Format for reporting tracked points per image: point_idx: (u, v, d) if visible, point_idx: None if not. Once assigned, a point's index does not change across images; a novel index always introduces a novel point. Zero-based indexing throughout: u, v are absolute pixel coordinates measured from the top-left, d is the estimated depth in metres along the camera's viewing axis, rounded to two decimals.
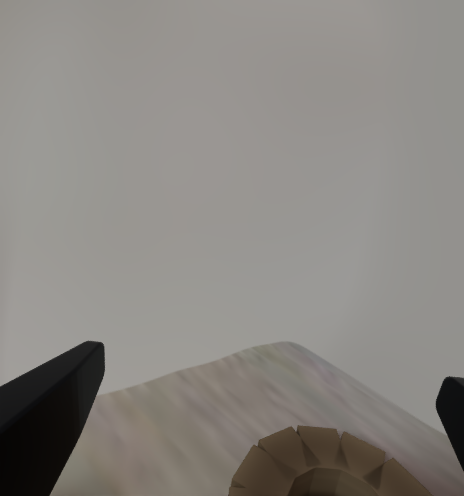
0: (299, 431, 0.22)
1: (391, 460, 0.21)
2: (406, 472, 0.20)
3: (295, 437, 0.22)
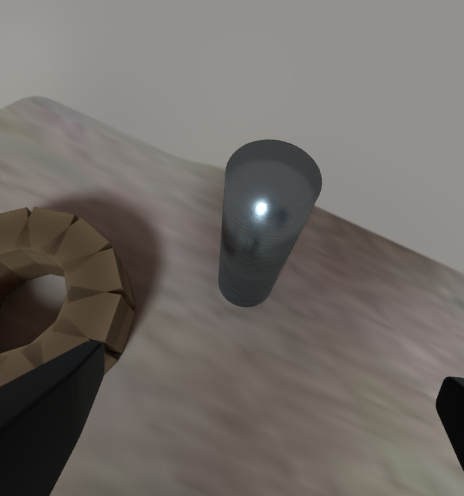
0: None
1: (78, 221, 0.21)
2: (89, 228, 0.21)
3: None
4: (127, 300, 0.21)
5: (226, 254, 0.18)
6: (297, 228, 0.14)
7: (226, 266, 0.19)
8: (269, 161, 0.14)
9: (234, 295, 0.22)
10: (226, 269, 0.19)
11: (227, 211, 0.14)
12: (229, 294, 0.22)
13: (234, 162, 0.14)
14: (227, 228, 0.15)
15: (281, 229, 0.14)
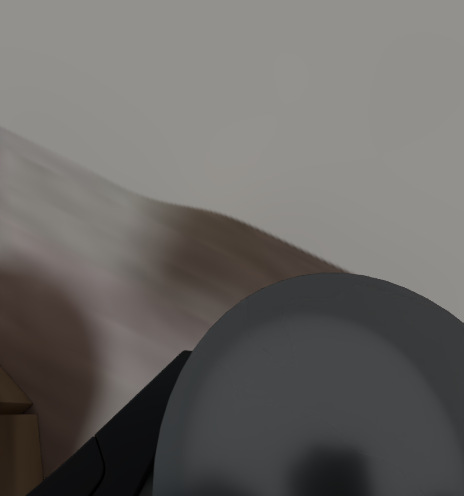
0: None
1: None
2: None
3: None
4: None
5: None
6: None
7: None
8: (341, 384, 0.03)
9: None
10: None
11: None
12: None
13: (197, 397, 0.03)
14: None
15: None
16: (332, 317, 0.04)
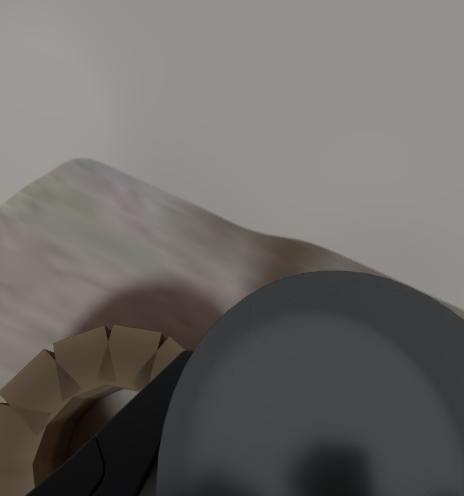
0: (55, 351, 0.17)
1: (166, 341, 0.18)
2: (181, 350, 0.18)
3: (49, 364, 0.17)
4: None
5: None
6: None
7: None
8: (343, 380, 0.03)
9: None
10: None
11: None
12: None
13: (200, 393, 0.03)
14: None
15: None
16: (334, 314, 0.04)
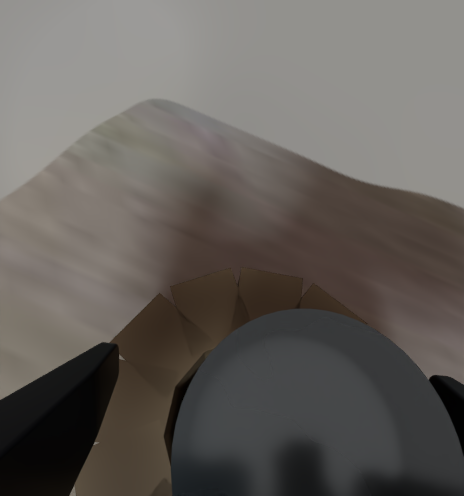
0: (174, 296, 0.14)
1: (311, 289, 0.14)
2: (331, 300, 0.14)
3: (168, 311, 0.13)
4: None
5: None
6: None
7: None
8: (305, 394, 0.05)
9: None
10: None
11: None
12: None
13: (201, 403, 0.05)
14: None
15: None
16: (301, 343, 0.05)
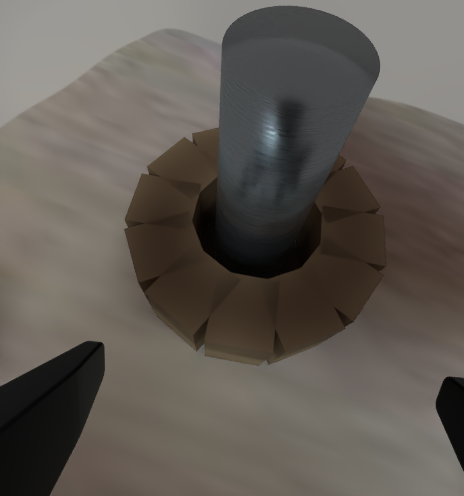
0: (195, 140, 0.17)
1: None
2: None
3: (192, 148, 0.17)
4: None
5: (224, 205, 0.13)
6: (336, 144, 0.09)
7: (224, 225, 0.14)
8: (293, 33, 0.09)
9: (235, 270, 0.16)
10: (224, 230, 0.14)
11: (225, 120, 0.09)
12: (229, 269, 0.17)
13: (236, 32, 0.08)
14: (225, 155, 0.10)
15: (314, 139, 0.08)
16: (291, 17, 0.09)
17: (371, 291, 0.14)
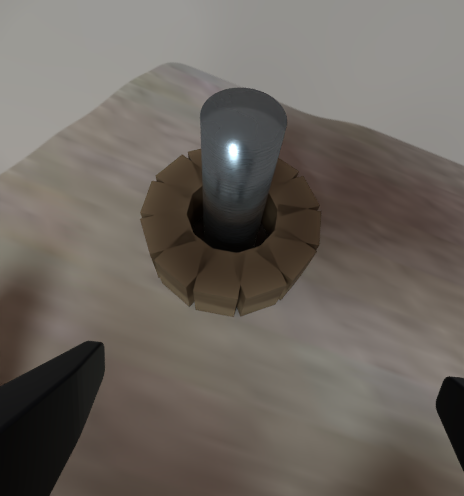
0: (190, 156, 0.24)
1: None
2: (279, 160, 0.24)
3: (187, 162, 0.24)
4: None
5: (207, 202, 0.19)
6: (266, 167, 0.16)
7: (208, 216, 0.20)
8: (240, 105, 0.15)
9: None
10: (208, 220, 0.21)
11: (203, 153, 0.16)
12: (213, 248, 0.24)
13: (208, 105, 0.15)
14: (205, 172, 0.17)
15: (251, 165, 0.15)
16: (240, 95, 0.16)
17: (307, 261, 0.21)
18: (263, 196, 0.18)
